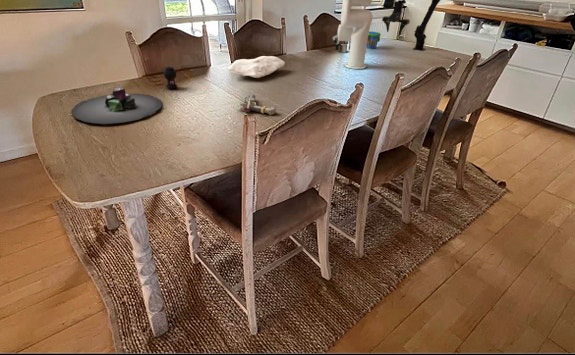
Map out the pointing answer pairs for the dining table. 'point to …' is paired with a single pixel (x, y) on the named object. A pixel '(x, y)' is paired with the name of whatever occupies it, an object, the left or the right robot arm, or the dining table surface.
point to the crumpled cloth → (256, 66)
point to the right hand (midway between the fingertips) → (393, 33)
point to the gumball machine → (170, 77)
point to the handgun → (255, 106)
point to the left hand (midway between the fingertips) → (343, 50)
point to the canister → (343, 48)
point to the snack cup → (373, 39)
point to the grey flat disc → (116, 108)
